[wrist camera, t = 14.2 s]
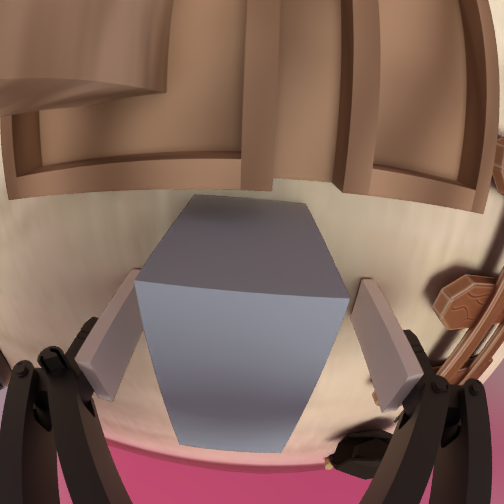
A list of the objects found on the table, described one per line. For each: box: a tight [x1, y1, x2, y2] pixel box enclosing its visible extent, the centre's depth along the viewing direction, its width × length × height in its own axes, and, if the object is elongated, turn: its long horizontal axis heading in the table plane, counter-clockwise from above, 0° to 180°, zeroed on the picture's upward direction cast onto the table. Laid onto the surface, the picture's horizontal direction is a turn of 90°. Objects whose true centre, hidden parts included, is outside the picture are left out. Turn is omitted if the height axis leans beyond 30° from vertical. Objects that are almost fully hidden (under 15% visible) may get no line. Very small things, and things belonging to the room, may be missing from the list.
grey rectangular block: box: [134, 195, 350, 453], centre depth 11 cm, size 5×10×7 cm, turn 175°
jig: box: [0, 0, 499, 214], centre depth 7 cm, size 24×14×3 cm, turn 88°
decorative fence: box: [372, 137, 504, 406], centre depth 13 cm, size 23×2×15 cm
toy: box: [325, 429, 393, 480], centre depth 23 cm, size 9×6×15 cm
